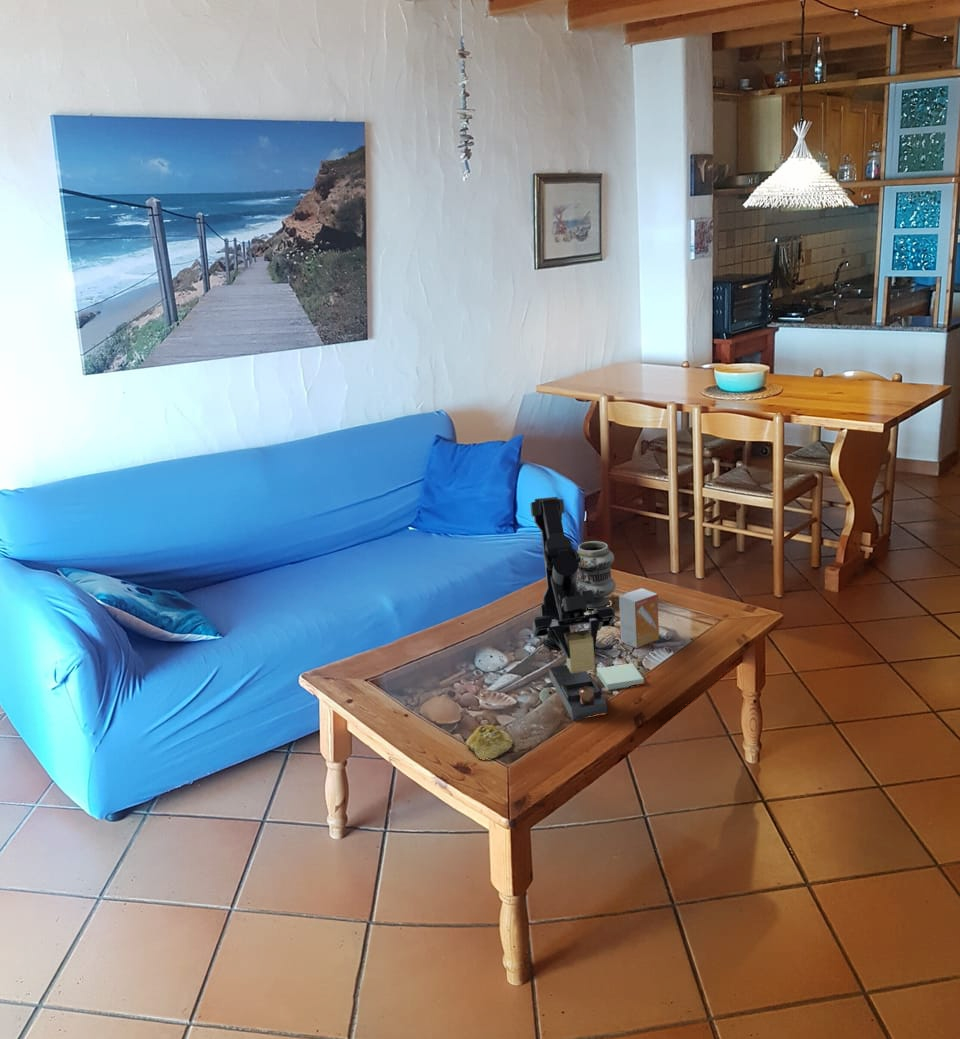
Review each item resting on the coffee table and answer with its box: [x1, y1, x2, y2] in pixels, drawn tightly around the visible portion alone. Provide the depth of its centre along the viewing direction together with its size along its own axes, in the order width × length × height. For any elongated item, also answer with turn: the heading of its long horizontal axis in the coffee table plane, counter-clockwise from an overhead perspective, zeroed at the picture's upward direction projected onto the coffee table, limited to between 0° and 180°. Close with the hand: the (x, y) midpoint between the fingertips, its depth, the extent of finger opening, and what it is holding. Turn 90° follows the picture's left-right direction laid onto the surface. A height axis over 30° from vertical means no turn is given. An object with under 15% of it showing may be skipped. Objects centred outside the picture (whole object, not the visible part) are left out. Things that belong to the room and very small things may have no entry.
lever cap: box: [564, 629, 596, 674], centre depth 220 cm, size 5×6×8 cm
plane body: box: [548, 664, 608, 721], centre depth 225 cm, size 22×8×6 cm, turn 9°
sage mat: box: [596, 662, 645, 691], centre depth 232 cm, size 9×9×2 cm
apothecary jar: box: [576, 540, 616, 609], centre depth 277 cm, size 12×12×18 cm
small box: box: [618, 587, 660, 649], centre depth 251 cm, size 8×6×13 cm
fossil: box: [465, 724, 514, 760], centre depth 207 cm, size 11×6×10 cm
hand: (581, 656), depth 218 cm, fingers closed on lever cap, 5 cm apart
